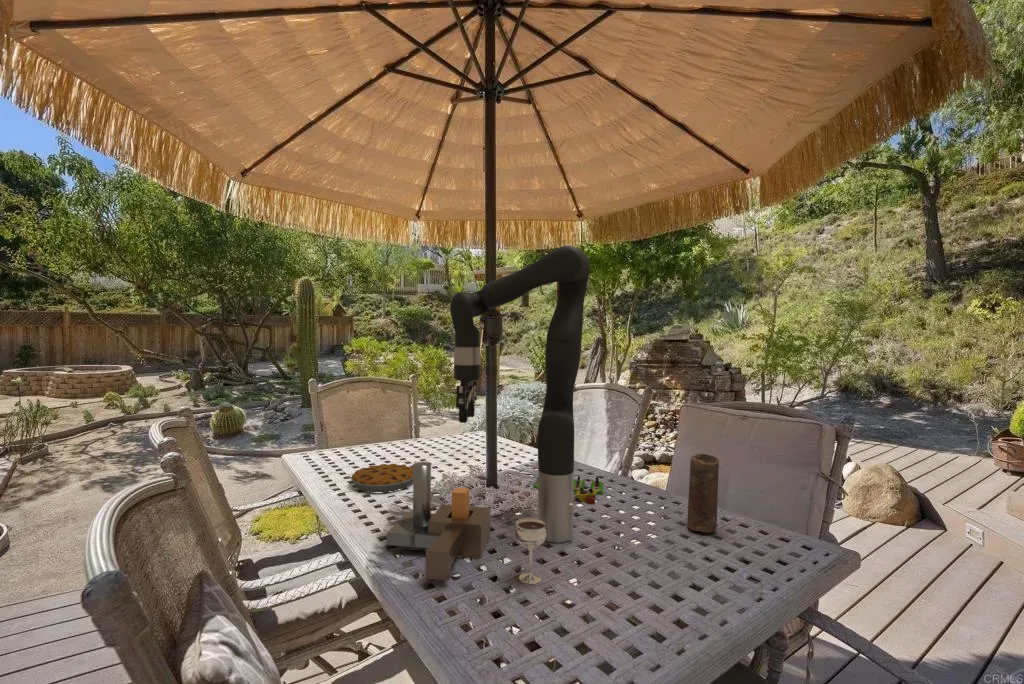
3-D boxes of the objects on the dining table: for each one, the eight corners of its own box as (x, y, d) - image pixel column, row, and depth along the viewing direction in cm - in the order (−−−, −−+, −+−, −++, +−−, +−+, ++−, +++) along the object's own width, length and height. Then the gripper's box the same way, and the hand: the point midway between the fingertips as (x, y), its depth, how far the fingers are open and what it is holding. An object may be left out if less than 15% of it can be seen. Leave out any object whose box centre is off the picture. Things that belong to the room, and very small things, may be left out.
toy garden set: (603, 486, 166) (603, 473, 165) (601, 507, 147) (602, 492, 147) (537, 481, 170) (537, 469, 170) (528, 500, 152) (528, 486, 151)
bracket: (490, 538, 123) (490, 507, 123) (467, 589, 100) (467, 551, 99) (441, 534, 125) (441, 504, 125) (407, 583, 102) (407, 546, 101)
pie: (429, 481, 169) (430, 467, 169) (382, 500, 150) (382, 484, 150) (386, 471, 180) (386, 457, 180) (337, 487, 162) (337, 472, 162)
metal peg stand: (456, 532, 126) (456, 458, 126) (440, 558, 112) (440, 474, 112) (405, 529, 129) (405, 455, 128) (383, 553, 115) (383, 471, 114)
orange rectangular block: (469, 543, 120) (469, 488, 120) (465, 549, 117) (465, 493, 117) (455, 542, 121) (456, 487, 121) (451, 548, 118) (451, 492, 117)
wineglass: (536, 589, 100) (537, 532, 99) (509, 580, 103) (509, 525, 103) (551, 575, 105) (552, 521, 105) (525, 566, 109) (525, 514, 108)
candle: (717, 527, 131) (719, 455, 130) (717, 538, 124) (718, 462, 124) (688, 522, 134) (689, 452, 133) (685, 532, 127) (687, 458, 127)
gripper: (474, 365, 128) (473, 425, 129) (485, 361, 142) (485, 415, 143) (447, 364, 129) (447, 424, 130) (460, 360, 143) (460, 414, 144)
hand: (466, 419), depth 136 cm, fingers open, 8 cm apart
